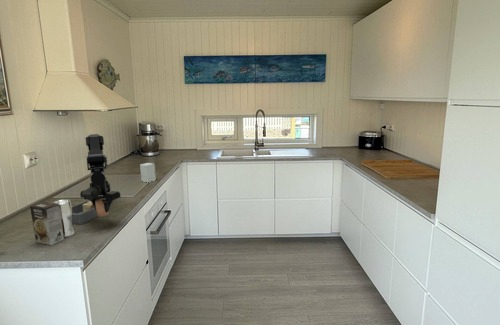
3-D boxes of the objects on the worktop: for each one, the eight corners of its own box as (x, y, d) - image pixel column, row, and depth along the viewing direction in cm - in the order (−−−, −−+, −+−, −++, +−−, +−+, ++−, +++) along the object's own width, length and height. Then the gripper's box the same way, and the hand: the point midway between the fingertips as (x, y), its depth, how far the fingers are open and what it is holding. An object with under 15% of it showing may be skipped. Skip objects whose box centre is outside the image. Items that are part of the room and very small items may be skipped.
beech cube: (91, 210, 167) (90, 201, 166) (98, 211, 165) (97, 202, 164) (83, 213, 162) (82, 204, 161) (91, 214, 160) (90, 205, 159)
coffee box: (35, 242, 131) (28, 205, 128) (49, 236, 137) (44, 200, 134) (50, 245, 128) (44, 208, 125) (64, 239, 134) (59, 203, 131)
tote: (87, 209, 170) (86, 200, 169) (108, 212, 165) (107, 203, 164) (58, 221, 154) (57, 211, 153) (80, 224, 149) (79, 214, 148)
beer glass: (55, 239, 134) (50, 205, 131) (58, 232, 141) (53, 200, 138) (74, 236, 137) (69, 203, 134) (76, 230, 143) (71, 198, 140)
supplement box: (156, 180, 227) (154, 163, 224) (147, 183, 221) (146, 165, 218) (149, 179, 231) (148, 162, 229) (141, 181, 225) (139, 164, 223)
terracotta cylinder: (102, 212, 153) (100, 198, 151) (110, 213, 151) (109, 199, 150) (94, 215, 148) (92, 201, 147) (102, 216, 147) (101, 202, 145)
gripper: (68, 182, 142) (72, 215, 145) (101, 186, 136) (105, 220, 139) (88, 176, 152) (91, 207, 155) (119, 179, 146) (123, 211, 149)
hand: (102, 211), depth 149 cm, fingers closed on terracotta cylinder, 5 cm apart
